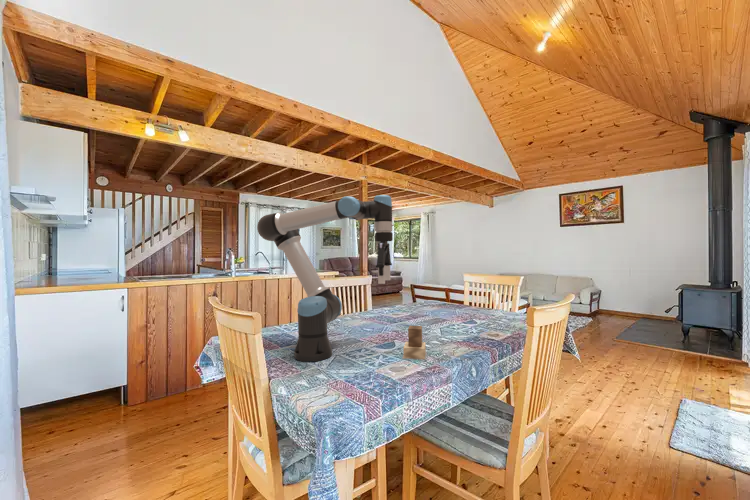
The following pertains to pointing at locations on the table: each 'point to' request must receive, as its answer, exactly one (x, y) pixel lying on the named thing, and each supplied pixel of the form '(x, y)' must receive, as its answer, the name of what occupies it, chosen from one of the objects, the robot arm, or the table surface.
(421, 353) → the maple base
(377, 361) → the table surface
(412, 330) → the walnut block
